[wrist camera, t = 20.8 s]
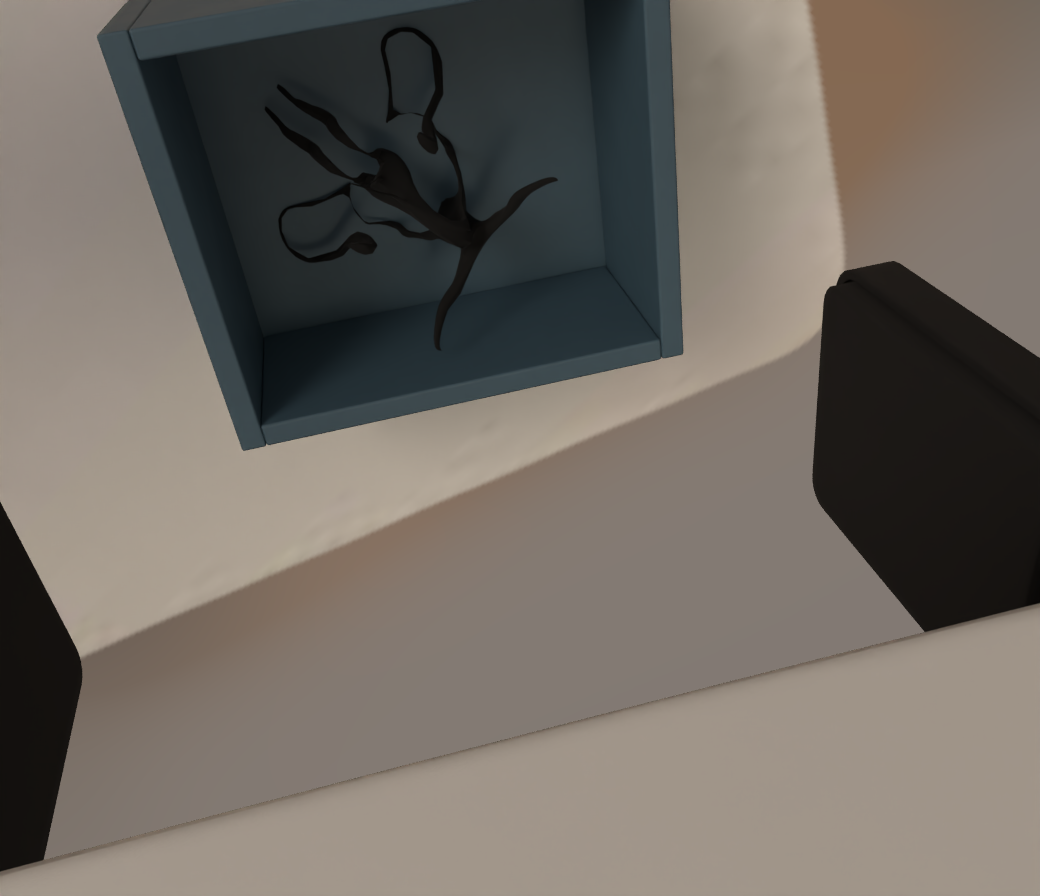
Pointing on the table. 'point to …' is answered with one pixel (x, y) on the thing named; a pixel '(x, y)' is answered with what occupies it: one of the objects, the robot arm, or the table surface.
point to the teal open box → (486, 178)
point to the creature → (406, 187)
